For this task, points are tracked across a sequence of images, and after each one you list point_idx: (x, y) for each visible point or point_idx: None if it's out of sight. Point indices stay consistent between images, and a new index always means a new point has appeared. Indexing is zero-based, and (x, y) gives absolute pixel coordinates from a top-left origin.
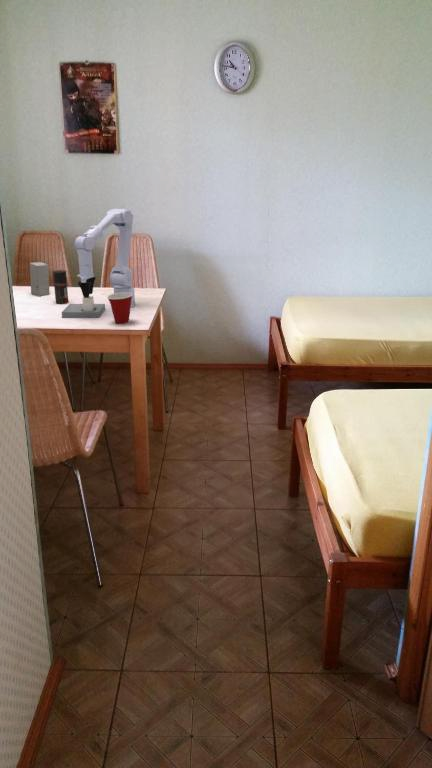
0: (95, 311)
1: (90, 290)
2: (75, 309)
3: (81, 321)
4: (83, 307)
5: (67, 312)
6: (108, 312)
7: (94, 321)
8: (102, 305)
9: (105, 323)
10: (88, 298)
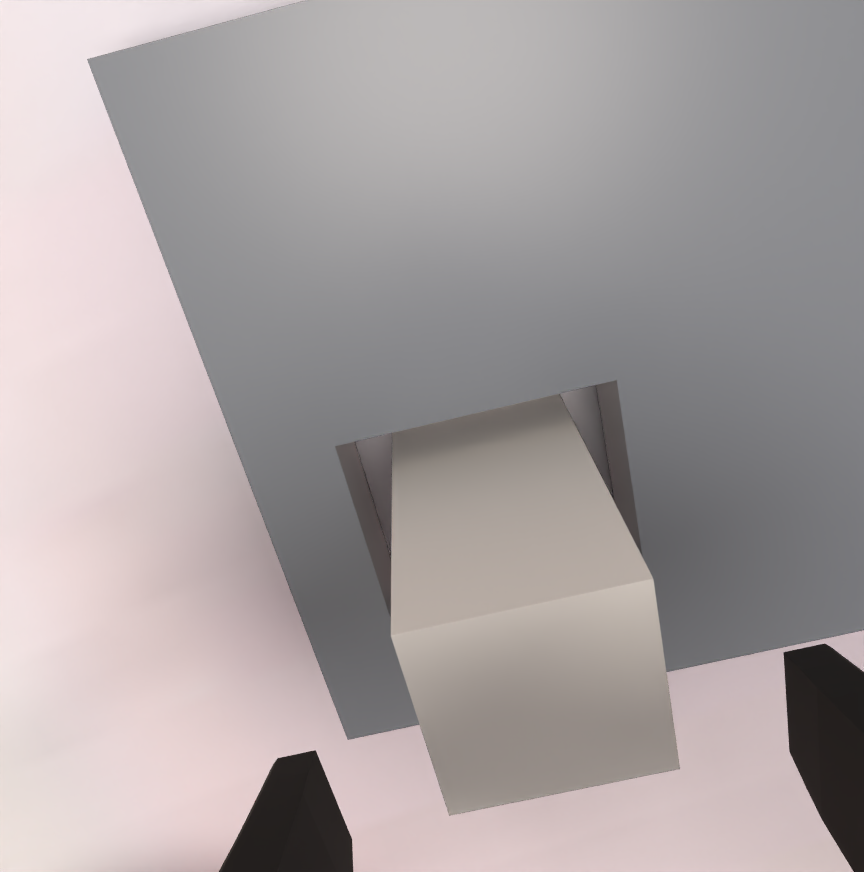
0: (391, 682)
1: (846, 811)
2: (445, 269)
3: (59, 534)
4: (393, 511)
5: (147, 209)
6: (709, 666)
7: (145, 696)
8: (852, 618)
9: (111, 842)
10: (433, 760)
